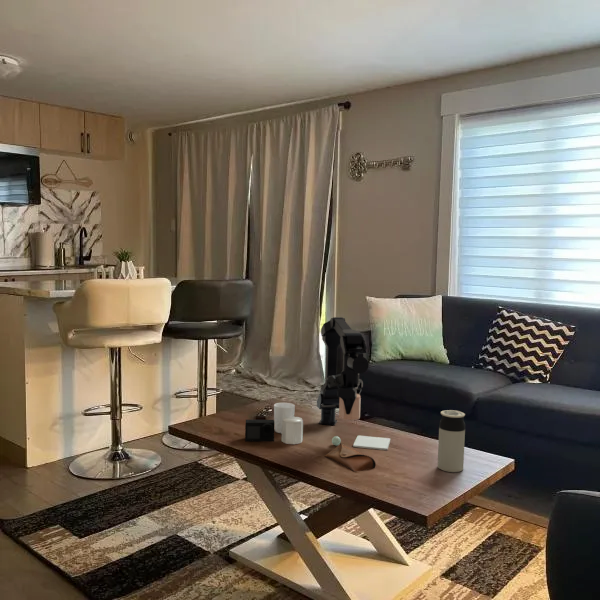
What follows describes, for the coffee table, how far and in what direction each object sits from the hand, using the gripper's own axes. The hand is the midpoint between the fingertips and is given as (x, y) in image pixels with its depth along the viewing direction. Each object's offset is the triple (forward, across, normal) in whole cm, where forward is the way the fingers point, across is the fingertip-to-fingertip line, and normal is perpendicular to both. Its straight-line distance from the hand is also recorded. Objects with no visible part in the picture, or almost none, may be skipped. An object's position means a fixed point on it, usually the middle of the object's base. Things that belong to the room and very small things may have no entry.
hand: (349, 411), depth 214 cm
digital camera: (+12, +5, -32) cm, 34 cm away
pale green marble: (+12, +2, -4) cm, 13 cm away
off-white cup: (+12, +2, -20) cm, 24 cm away
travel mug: (+12, +13, +35) cm, 40 cm away
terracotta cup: (+2, 0, 0) cm, 2 cm away
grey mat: (+12, -4, +8) cm, 15 cm away
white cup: (+12, -8, -26) cm, 30 cm away
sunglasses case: (+13, +17, +3) cm, 22 cm away
